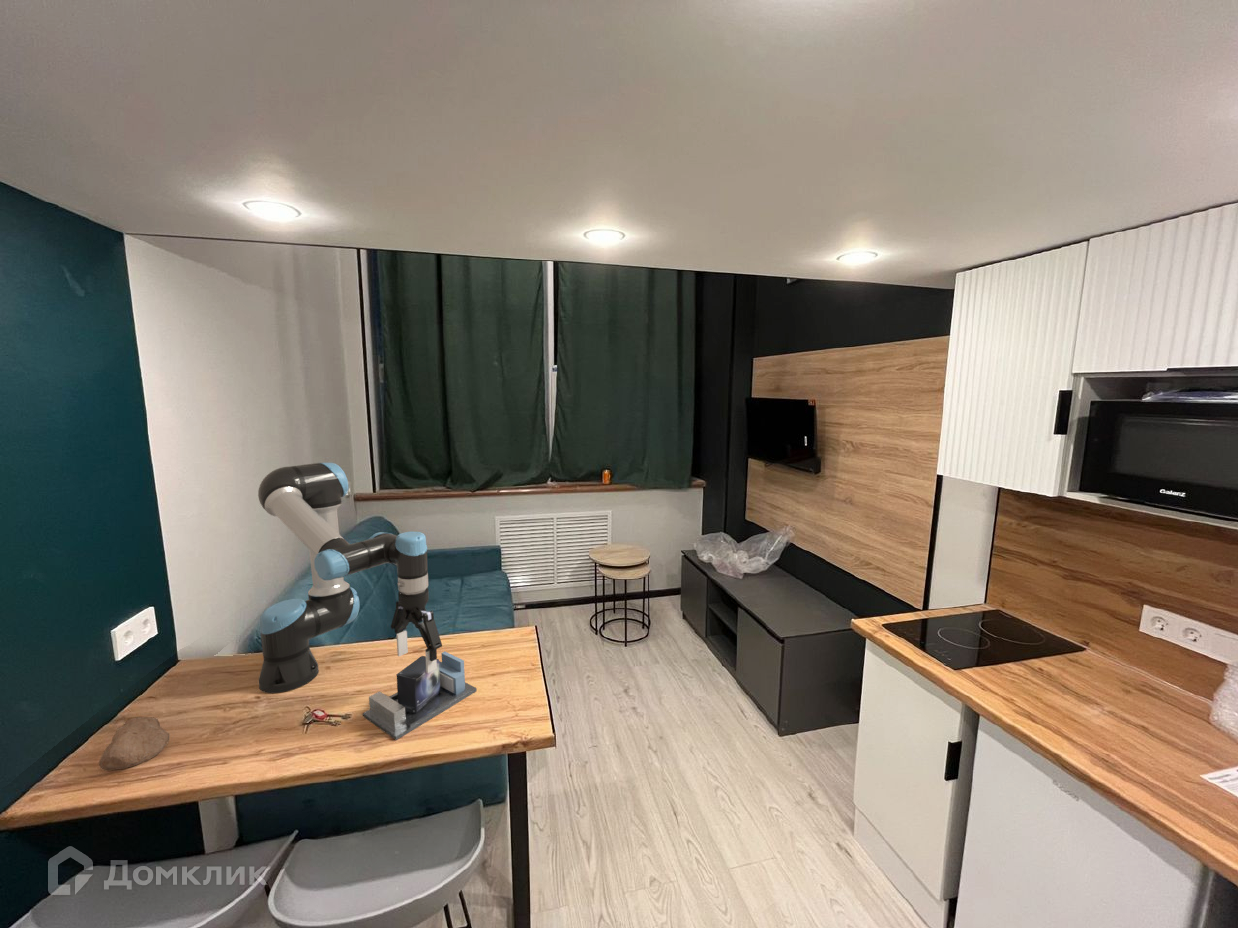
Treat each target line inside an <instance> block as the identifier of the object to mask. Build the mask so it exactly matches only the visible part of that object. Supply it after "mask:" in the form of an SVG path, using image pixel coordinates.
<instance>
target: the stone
mask: <svg viewBox="0 0 1238 928" xmlns="http://www.w3.org/2000/svg"><path fill="white" fill-rule="evenodd" d="M170 737H171V736H170V733H169V732H168V731H166V729H164V728H163V727H162V726H161V725H160V721H159V720H158V718H156V717H150V716H149V717H148V716H147V717H141V716H139V717H138V716H137V717H132V718H130V719H128V720H126V721H125V723H123V724H122V726H120V727H119V726H118V728H117V729H116V730H115V733H114V735H113V737H112V738H111V739H112V740H111V742H110V743H109V744H108V745H107V746H106V748H105V750H104V751H103V753H102V755H101V757H100V759H99V761H98V766H99V768H100V769H101V770H104V771H107V772H109V771H115V770H119V769H121V770H122V769H127V768H130V767H135V766H137V765H140V764H142V763H146V762H147V761H150V760H151V759H153V758H154V757H156V756H157V755H158V754H160V753H161V751H163V750H164V748H166V746H167V745H168V743H169V742H170Z"/></svg>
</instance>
